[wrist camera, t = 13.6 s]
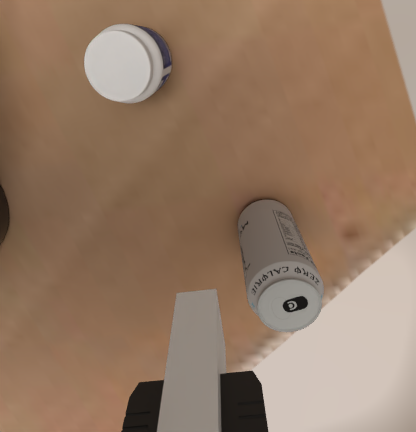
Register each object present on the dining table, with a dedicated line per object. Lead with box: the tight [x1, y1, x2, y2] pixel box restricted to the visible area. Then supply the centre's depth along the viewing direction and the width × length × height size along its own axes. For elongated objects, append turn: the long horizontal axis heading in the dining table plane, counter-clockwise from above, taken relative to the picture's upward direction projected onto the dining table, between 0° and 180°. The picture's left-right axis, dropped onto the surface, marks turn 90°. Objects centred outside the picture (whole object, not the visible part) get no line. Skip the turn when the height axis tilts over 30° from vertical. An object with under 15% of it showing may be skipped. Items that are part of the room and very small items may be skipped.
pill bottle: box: [84, 24, 172, 103], centre depth 31 cm, size 6×6×10 cm
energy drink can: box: [238, 200, 324, 332], centre depth 35 cm, size 6×6×15 cm
